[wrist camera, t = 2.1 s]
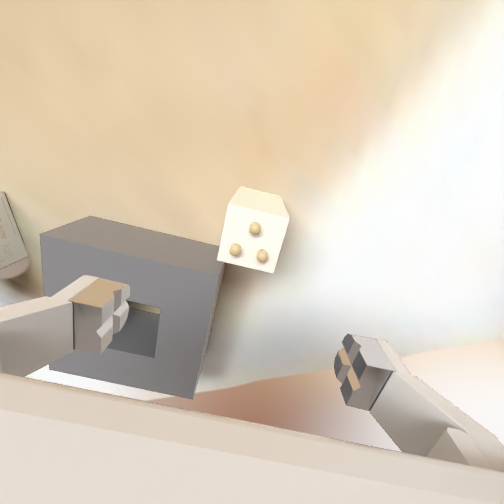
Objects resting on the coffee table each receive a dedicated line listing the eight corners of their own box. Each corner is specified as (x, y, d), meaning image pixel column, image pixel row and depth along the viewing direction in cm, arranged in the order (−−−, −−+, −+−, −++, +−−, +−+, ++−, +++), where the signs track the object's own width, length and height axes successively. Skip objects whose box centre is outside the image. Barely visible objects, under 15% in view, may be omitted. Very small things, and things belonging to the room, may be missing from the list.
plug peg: (280, 196, 27) (290, 220, 17) (270, 234, 29) (273, 277, 19) (240, 186, 27) (227, 205, 17) (232, 225, 29) (215, 263, 19)
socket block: (228, 248, 30) (218, 275, 23) (205, 353, 35) (192, 399, 29) (90, 215, 29) (39, 234, 22) (89, 328, 35) (49, 369, 28)
